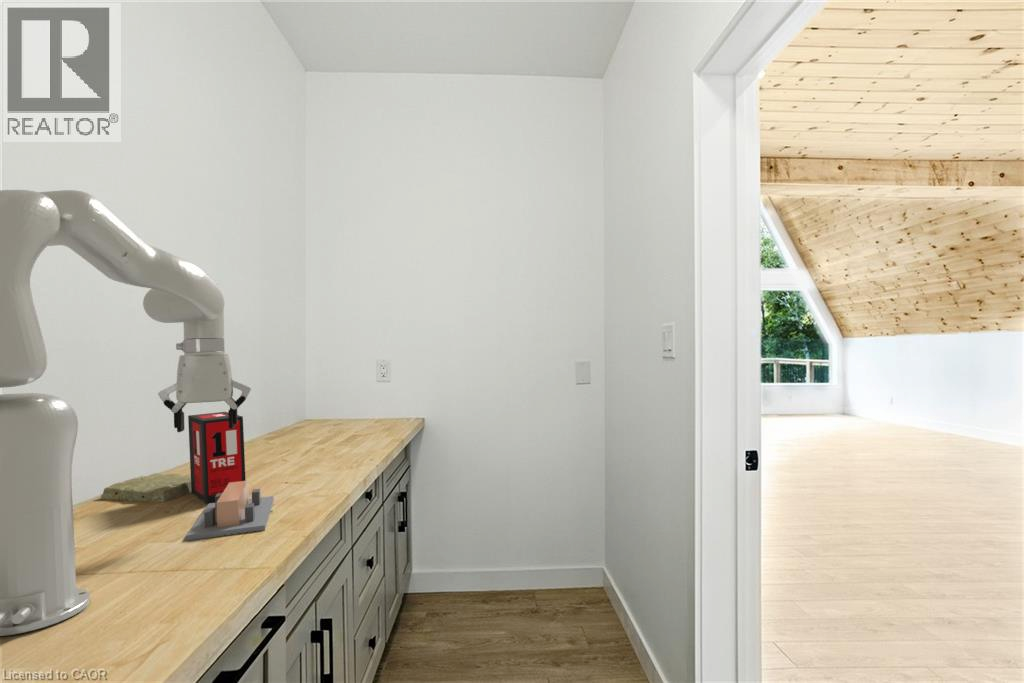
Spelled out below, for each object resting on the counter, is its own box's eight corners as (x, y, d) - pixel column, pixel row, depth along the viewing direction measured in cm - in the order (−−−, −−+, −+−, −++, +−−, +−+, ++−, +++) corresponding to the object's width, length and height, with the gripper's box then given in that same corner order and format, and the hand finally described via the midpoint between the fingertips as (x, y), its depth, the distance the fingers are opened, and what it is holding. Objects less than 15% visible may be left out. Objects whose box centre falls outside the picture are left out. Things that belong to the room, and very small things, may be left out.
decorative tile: (154, 484, 165) (153, 471, 165) (215, 485, 160) (215, 472, 160) (94, 502, 146) (93, 488, 146) (162, 504, 142) (161, 490, 142)
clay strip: (239, 524, 118) (238, 500, 118) (217, 527, 117) (216, 502, 117) (249, 501, 136) (248, 480, 136) (230, 504, 134) (229, 482, 134)
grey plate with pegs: (264, 530, 117) (264, 510, 117) (186, 540, 113) (186, 520, 113) (273, 500, 140) (272, 483, 140) (209, 507, 136) (208, 490, 136)
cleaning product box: (246, 496, 145) (242, 416, 144) (206, 504, 139) (203, 420, 139) (228, 485, 157) (225, 411, 157) (191, 492, 151) (188, 415, 151)
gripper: (152, 349, 116) (154, 435, 116) (247, 346, 121) (249, 428, 121) (162, 349, 123) (164, 430, 123) (251, 347, 128) (253, 424, 128)
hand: (206, 429), depth 122 cm, fingers open, 9 cm apart
